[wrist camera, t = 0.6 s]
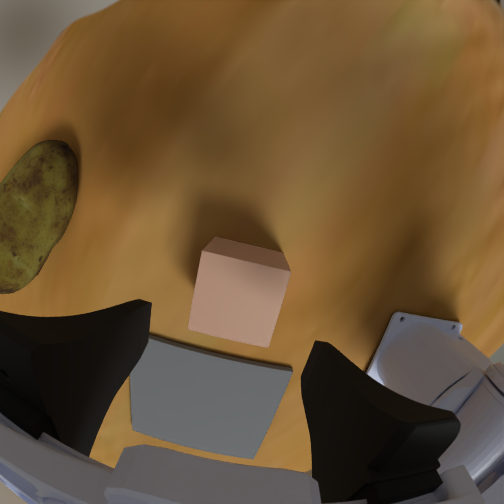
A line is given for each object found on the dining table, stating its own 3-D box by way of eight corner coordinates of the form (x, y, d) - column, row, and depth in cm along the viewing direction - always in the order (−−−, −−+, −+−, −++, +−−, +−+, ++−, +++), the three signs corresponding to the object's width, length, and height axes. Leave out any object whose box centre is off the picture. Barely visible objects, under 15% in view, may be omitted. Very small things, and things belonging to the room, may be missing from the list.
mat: (292, 367, 22) (292, 371, 21) (253, 455, 25) (253, 459, 24) (133, 329, 22) (130, 332, 21) (134, 426, 24) (132, 430, 24)
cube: (283, 252, 20) (291, 271, 15) (266, 313, 21) (268, 347, 16) (215, 236, 20) (202, 250, 15) (202, 299, 21) (187, 329, 16)
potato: (117, 205, 19) (51, 216, 12) (41, 288, 21) (-12, 318, 13) (73, 131, 18) (9, 117, 10) (7, 223, 20) (-48, 236, 12)
